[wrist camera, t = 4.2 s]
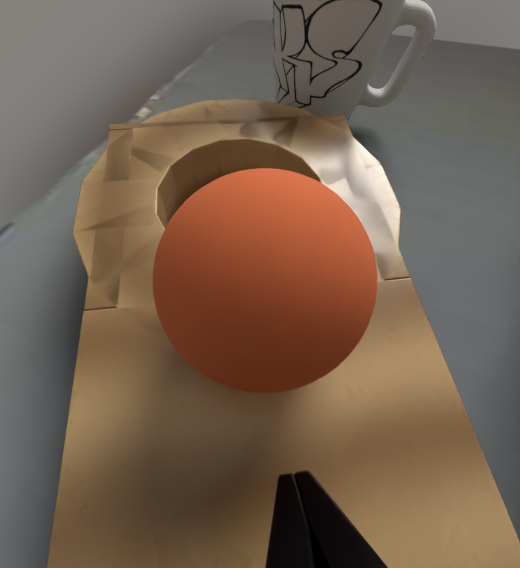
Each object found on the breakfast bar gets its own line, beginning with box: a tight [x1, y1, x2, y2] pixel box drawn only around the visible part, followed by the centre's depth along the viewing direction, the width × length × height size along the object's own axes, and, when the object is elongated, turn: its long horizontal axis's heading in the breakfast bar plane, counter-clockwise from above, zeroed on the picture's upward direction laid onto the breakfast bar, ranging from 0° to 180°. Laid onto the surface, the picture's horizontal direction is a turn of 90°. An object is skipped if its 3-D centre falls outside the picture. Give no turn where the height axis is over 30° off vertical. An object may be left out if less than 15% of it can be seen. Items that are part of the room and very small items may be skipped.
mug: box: [273, 0, 436, 121], centre depth 23 cm, size 11×8×10 cm
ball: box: [152, 168, 378, 393], centre depth 10 cm, size 7×7×7 cm
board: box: [47, 99, 520, 568], centre depth 16 cm, size 30×17×4 cm, turn 8°
